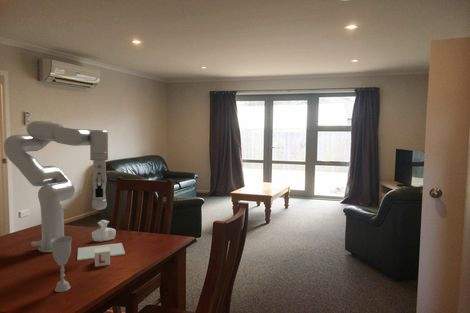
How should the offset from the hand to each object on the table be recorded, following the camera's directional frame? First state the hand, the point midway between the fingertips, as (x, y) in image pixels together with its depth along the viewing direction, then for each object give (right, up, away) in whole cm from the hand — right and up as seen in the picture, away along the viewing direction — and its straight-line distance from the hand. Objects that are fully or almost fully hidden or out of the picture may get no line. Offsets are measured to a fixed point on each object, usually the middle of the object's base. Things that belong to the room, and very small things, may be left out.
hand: (99, 195), depth 154 cm
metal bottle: (0, -7, 0) cm, 7 cm away
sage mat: (0, -27, +3) cm, 27 cm away
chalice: (+1, -30, -34) cm, 45 cm away
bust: (-6, -26, +21) cm, 34 cm away
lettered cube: (+6, -28, -11) cm, 30 cm away
